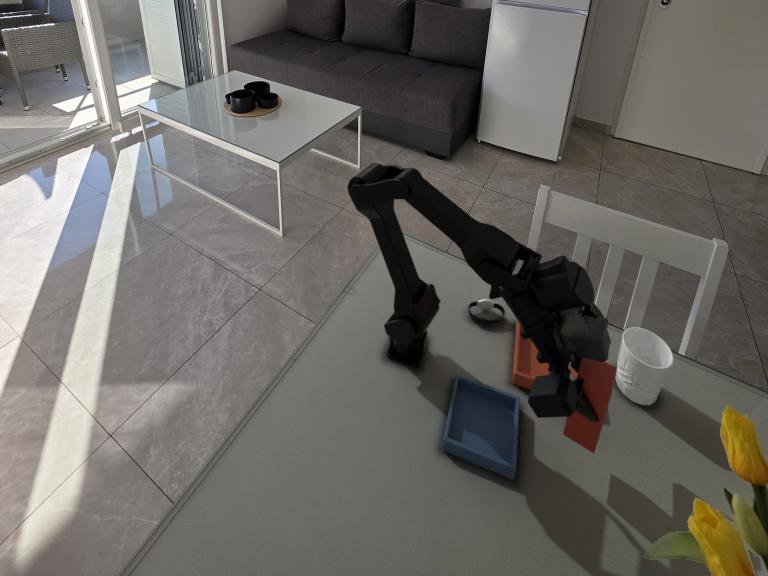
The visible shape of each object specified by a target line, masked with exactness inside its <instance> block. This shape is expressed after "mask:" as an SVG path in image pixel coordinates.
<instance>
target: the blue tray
mask: <svg viewBox="0 0 768 576" xmlns="http://www.w3.org/2000/svg"><path fill="white" fill-rule="evenodd" d="M520 398H521V397H520V396H519V395H515V394H513V393H511V392H507V391H505V390H502V389H499V388H497V387H494V386H492V385H489V384H485V383H482V382H480V381H477V380H475V379H471V378H469V377H465V376H463V375H460V374H455V378H454V382H453V388H452V393H451V398H450V404H449V409H448V414H447V417H446V424H445V428H444V434H443V438H442V439H443V440H442V446H441V447H442V448H441V450H442V451H444V452H445V453H448V454H451V455H453V456H455V457H458V458H459V459H460V458H461V459H462V460H465V461H467V462H470V463H472V464H475V465H477V466H479V467H482V468H484V469H487V470H489V471H491V472H494V473H496V474H498V475H501V476H503V477H506V478H508V479H510V480H512V481H514V480H515V477H516V473H517V460H518V458H517V457H518V442H519V440H518V438H519V420H520V400H521V399H520Z"/></svg>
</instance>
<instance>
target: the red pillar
mask: <svg viewBox="0 0 768 576" xmlns="http://www.w3.org/2000/svg"><path fill="white" fill-rule="evenodd" d="M616 371H617V367H616V366H614V365H612V364H610V363H609V362H607V361H605V362H597V361H595V360H593V359H588V358H581V362H580V366H579V370H578V374H577V378H576V379H584V384H583V388H582V390H583V392H584V393H585V395H586V397H587V398H588V400H589V402H590V403H591V405H592V407H593V408H594V410H595V412H596V414H597V416H598V418H599V422H592V421H590V420H588V419H587V418H585V417H584V416H582V415H581V414H579V413H578V412H576V411H574V413H573V414H572V415H571V416H570V417H566V418H565V423H564V426H563V431H562V435H563V436H565V437H566V438H568V439H570V440H571V441H573V442H575V443H576V444H577V445H579V446H581V447H582V448H584V449H585V450H587V451H588V452H590V453H592V454H595V453H596V449H597V445H598V442H599V438H600V435H601V432H602V428H603V425H604V421H605V418H606V416H607V415H606V414H607V412H608V407H609V405H610V401H611V397H612V394H613V389H614V383H615V376H616Z"/></svg>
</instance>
